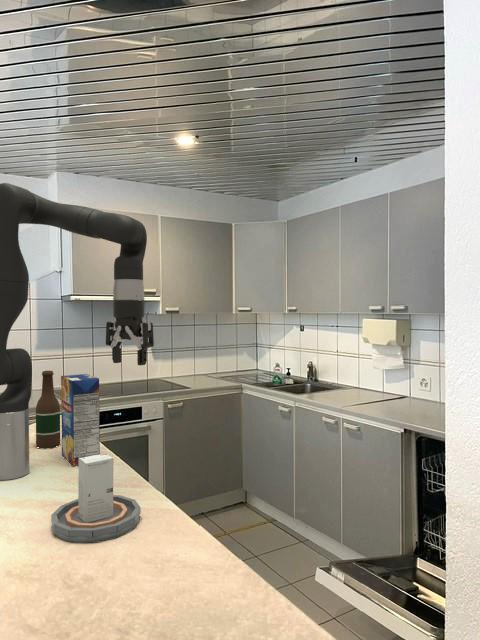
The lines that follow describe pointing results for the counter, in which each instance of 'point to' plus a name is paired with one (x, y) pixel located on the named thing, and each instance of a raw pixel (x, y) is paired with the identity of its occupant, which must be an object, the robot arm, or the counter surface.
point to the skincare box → (95, 487)
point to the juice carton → (80, 417)
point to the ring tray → (95, 522)
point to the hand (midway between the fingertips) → (129, 364)
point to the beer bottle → (47, 415)
